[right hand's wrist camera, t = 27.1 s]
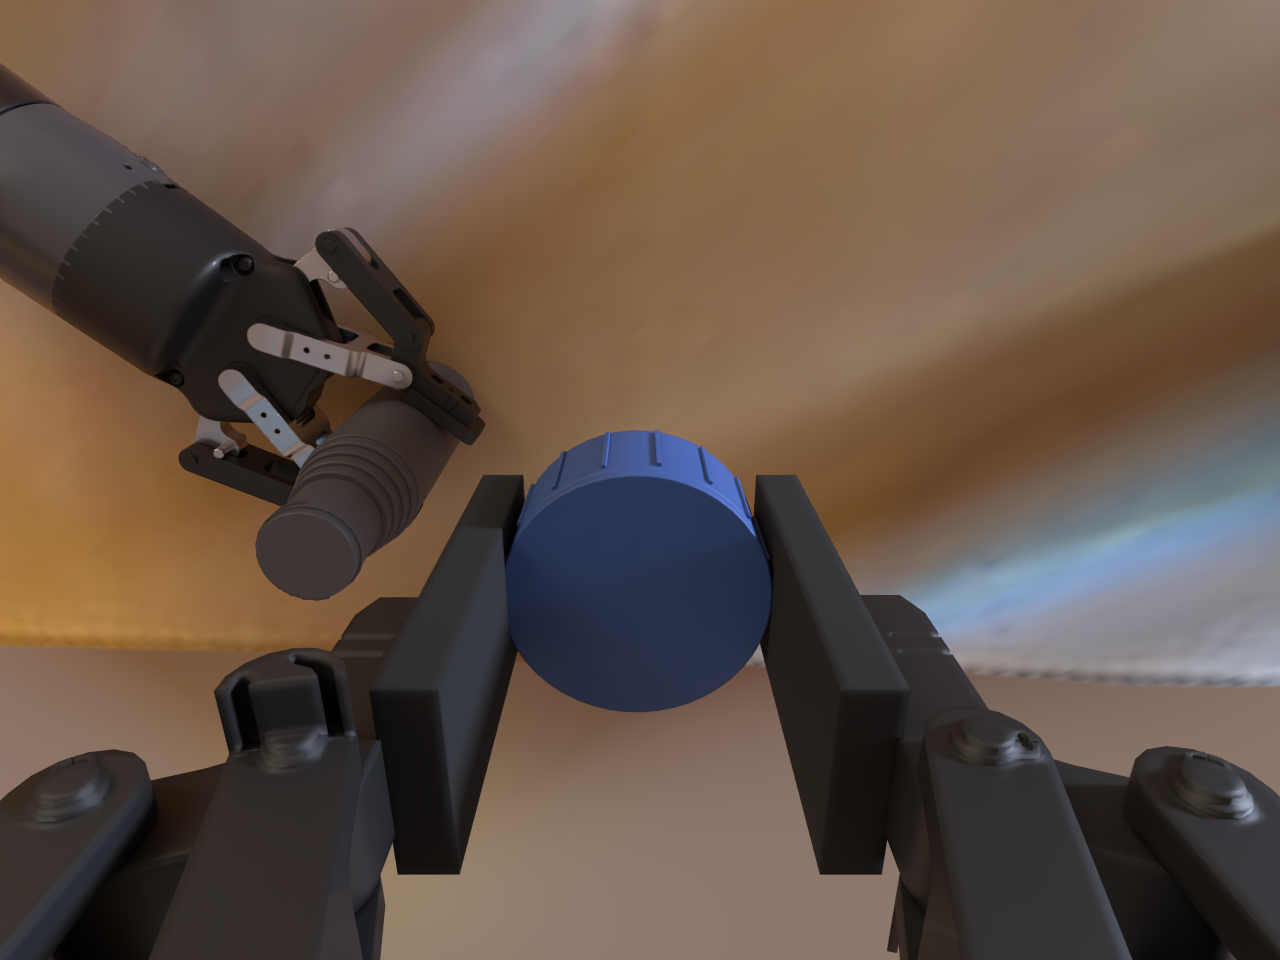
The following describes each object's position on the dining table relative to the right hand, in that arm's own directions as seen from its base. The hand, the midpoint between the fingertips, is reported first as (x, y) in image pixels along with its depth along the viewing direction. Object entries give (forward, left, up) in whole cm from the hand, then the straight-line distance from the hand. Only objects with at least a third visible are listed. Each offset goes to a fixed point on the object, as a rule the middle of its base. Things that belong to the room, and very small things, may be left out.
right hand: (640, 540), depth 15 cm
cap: (0, 0, +2) cm, 2 cm away
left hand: (0, +11, -21) cm, 24 cm away
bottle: (+3, +12, -28) cm, 31 cm away
